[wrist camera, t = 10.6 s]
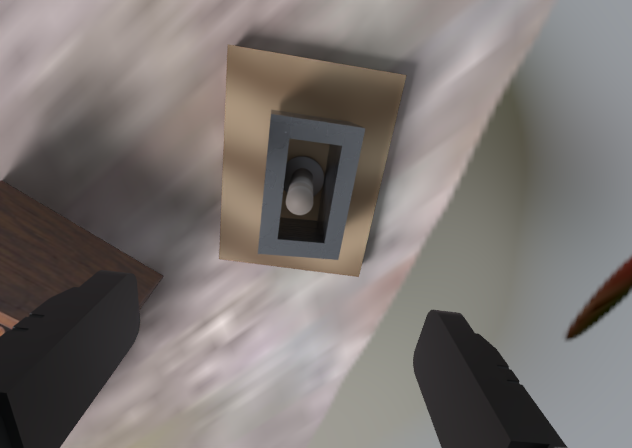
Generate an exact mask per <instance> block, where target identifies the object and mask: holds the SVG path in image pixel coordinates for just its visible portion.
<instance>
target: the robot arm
mask: <svg viewBox="0 0 632 448" xmlns="http://www.w3.org/2000/svg"><path fill="white" fill-rule="evenodd" d="M139 327H140V313H139V301H138V288H137V279H136V276H135V275H134V274H133V273H124V272H116V271H107V270H100V271H98V272H97V273H95V274H94V275H93V276H92V277H90V278H89V279H88V280H87V281H86V282H84V283H83V284H82V285H81V286H80V287H72V288H70V289H68V290H66V291H64V292H62V293H59V294H57V295H55V296H53V297H51V298H49V299H48V300H46V301H45V302H44V303H42V304H41V305H40V306H39V307H37V308H36V309H35V310H33V311H32V312H31V313H30V315H29V317H25V318H23V319H22V320H21V321H19V322H18V323H17V324H16V325H14V326H13V328H12V330H11V331H9V330H8V331H7V332H5V333H4V334H3V335H2V336H0V448H60V447H61V445H62V444H63V442H64V441H65V440H66V438H67V437H68V435H69V434H70V432H71V431H72V430H73V428H74V427H75V425H76V424H77V423H78V421H79V420H80V418H81V417H82V416H83V414H84V413H85V411H86V410H87V409H88V407H89V406H90V404H91V403H92V402H93V400H94V399H95V397H96V396H97V394H98V393H99V392H100V390H101V389H102V387H103V386H104V385H105V383H106V382H107V380H108V379H109V378H110V376H111V375H112V373H113V372H114V371H115V369H116V368H117V366H118V365H119V363H120V362H121V361H122V359H123V358H124V356H125V355H126V354H127V352H128V351H129V349H130V348H131V347H132V345H133V343H134V342H135V340H136V337H137V335H138V331H139ZM413 366H414V372H415V376H416V379H417V381H418V384H419V387H420V390H421V393H422V395H423V398H424V401H425V403H426V406H427V409H428V412H429V414H430V417H431V420H432V422H433V425H434V428H435V431H436V433H437V436H438V439H439V442H440V444H441V447H442V448H567V446H566V445H565V444H564V442H563V441H562V439H561V438H560V437H559V435H558V434H557V432H556V431H555V430H554V428H553V427H552V426H551V424H550V423H549V421H548V420H547V419H546V417H545V416H544V414H543V413H542V412H541V410H540V409H539V408H538V406H537V405H536V403H535V402H534V401H533V399H532V398H531V396H530V395H529V394H528V392H527V391H526V390H525V388H524V387H523V385H520V384H519V380H518V378H517V377H516V376H515V374H514V373H513V371H512V370H510V369H509V366H508V364H507V363H506V362H505V360H504V359H503V358H502V356H501V355H500V353H499V352H498V351H497V349H496V348H495V347H493V346H492V345H491V344H490V343H489V342H488V341H487V340H485V339H484V338H483V337H482V336H481V335H479V334H476V333H474V331H473V330H472V328H471V327H470V325H469V324H468V322H467V321H466V320H465V318H464V317H463V316H462V314H460V313H456V312H448V311H439V310H431V311H430V312H429V313H428V315H427V317H426V320H425V323H424V326H423V328H422V331H421V334H420V337H419V340H418V343H417V345H416V349H415V351H414V357H413Z"/></svg>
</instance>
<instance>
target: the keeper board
mask: <svg viewBox="0 0 632 448" xmlns="http://www.w3.org/2000/svg"><path fill="white" fill-rule="evenodd" d="M405 79H406V75H402V74H396V73H391V72H385V71H379V70H373V69H367V68H362V67H356V66H350V65H344V64H338V63H332V62H327V61H321V60H315V59H309V58H303V57H298V56H292V55H286V54H280V53H274V52H268V51H263V50H257V49H251V48H245V47H239V46H234V45H228V51H227V75H226V100H225V125H224V150H223V175H222V199H221V224H220V249H219V259H222V260H230V261H238V262H246V263H254V264H262V265H270V266H277V267H285V268H293V269H301V270H309V271H317V272H325V273H333V274H340V275H348V276H356V277H359V274H360V270H361V266H362V261H363V257H364V253H365V249H366V244H367V240H368V236H369V232H370V227H371V223H372V219H373V215H374V211H375V206H376V202H377V198H378V194H379V189H380V185H381V181H382V177H383V172H384V168H385V164H386V160H387V156H388V151H389V147H390V143H391V139H392V134H393V130H394V126H395V122H396V117H397V113H398V109H399V105H400V101H401V96H402V92H403V88H404V84H405ZM271 109H272V110H278V111H285V112H291V113H298V114H304V115H311V116H317V117H323V118H330V119H336V120H343V121H349V122H352V123H355V124H357V125H359V126H361V127H364V128H365V133H364V137H363V142H362V147H361V152H360V157H359V162H358V167H357V172H356V176H355V181H354V186H353V191H352V196H351V201H350V206H349V211H348V215H347V220H346V225H345V230H344V235H343V240H342V245H341V250H340V254H339V259H338V260H332V259H319V258H306V257H292V256H279V255H266V254H258V245H259V234H260V224H261V213H262V203H263V192H264V181H265V171H266V160H267V150H268V139H269V128H270V118H271ZM329 147H330V144H326V143H319V142H311V141H304V140H297V139H290V138H289V146H288V155H287V163H286V172H285V180H284V188H283V197H282V205H281V214H280V217H283V218H293V219H304V220H314V221H317V219H318V213H319V207H320V201H321V195H322V189H323V183H324V177H325V171H326V165H327V159H328V153H329Z"/></svg>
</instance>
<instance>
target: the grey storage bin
mask: <svg viewBox="0 0 632 448" xmlns="http://www.w3.org/2000/svg"><path fill="white" fill-rule="evenodd" d="M364 133H365V128H364V127H361V126H359V125H357V124H355V123H352V122H349V121H343V120H336V119H330V118H323V117H317V116H311V115H304V114H298V113H291V112H285V111H278V110H272V109H271V118H270V128H269V139H268V150H267V160H266V171H265V181H264V192H263V203H262V213H261V224H260V234H259V245H258V254H266V255H279V256H292V257H306V258H319V259H332V260H338V259H339V254H340V250H341V245H342V240H343V235H344V230H345V225H346V220H347V215H348V211H349V206H350V201H351V196H352V191H353V186H354V181H355V176H356V172H357V167H358V162H359V157H360V152H361V147H362V142H363V137H364ZM289 138H290V139H297V140H304V141H311V142H319V143H326V144H330V147H329V153H328V159H327V165H326V171H325V177H324V183H323V189H322V195H321V201H320V207H319V213H318V219H317V221H314V220H304V219H293V218H283V217H280V214H281V205H282V197H283V188H284V180H285V172H286V163H287V155H288V146H289Z"/></svg>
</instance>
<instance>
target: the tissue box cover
mask: <svg viewBox="0 0 632 448" xmlns="http://www.w3.org/2000/svg"><path fill="white" fill-rule="evenodd" d="M100 270H107V271H116V272H124V273H133V274H134V275H135V276H136V279H137V288H138V301H139V310H140V308H141V307H142V306H143V304H144V303H145V301H146V300H147V299H148V297H149V296H150V294H151V293H152V292H153V290H154V289H155V287H156V286H157V285H158V283H159V282H160V280H161V279H162V278H163V276H162V275H161V274H159V273H157V272H156V271H154V270H152V269H151V268H149V267H147V266H145V265H144V264H142V263H140V262H139V261H137V260H135V259H134V258H132V257H130V256H129V255H127V254H125V253H124V252H122V251H120V250H118V249H117V248H115V247H113V246H112V245H110V244H108V243H107V242H105V241H103V240H102V239H100V238H98V237H96V236H95V235H93V234H91V233H90V232H88V231H86V230H85V229H83V228H81V227H80V226H78V225H76V224H75V223H73V222H71V221H69V220H68V219H66V218H64V217H63V216H61V215H59V214H58V213H56V212H54V211H53V210H51V209H49V208H48V207H46V206H44V205H42V204H41V203H39V202H37V201H36V200H34V199H32V198H31V197H29V196H27V195H26V194H24V193H22V192H20V191H19V190H17V189H15V188H14V187H12V186H10V185H9V184H7V183H5V182H4V181H0V336H2V335H3V334H4V333H5V332H7V331H8V330H9V331H11V330H12V328H13V326H14V325H16V324H17V323H18V322H19V321H21V320H22V319H23V318H25V317H29V315H30V313H31V312H32V311H33V310H35V309H36V308H37V307H39V306H40V305H41V304H42V303H44V302H45V301H46V300H48V299H49V298H51V297H53V296H55V295H57V294H59V293H62V292H64V291H66V290H68V289H70V288H72V287H80V286H81V285H82V284H83V283H84V282H86V281H87V280H88V279H89V278H90V277H92V276H93V275H94V274H95V273H97V272H98V271H100Z"/></svg>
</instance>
